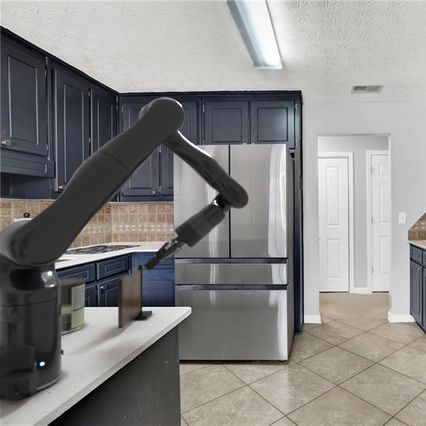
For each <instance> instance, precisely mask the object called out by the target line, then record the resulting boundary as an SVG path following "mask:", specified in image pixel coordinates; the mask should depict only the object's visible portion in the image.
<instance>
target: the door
mask: <svg viewBox="0 0 426 426" xmlns="http://www.w3.org/2000/svg"><path fill="white" fill-rule="evenodd" d="M117 283H118V284H117V285H118V287H117V289H118V293H117V294H118V298H117V299H118V303H117V306H118V307H117V313H118V314H117V329H123V328H124V327H125V326H127V325H128V324H129V323H130V322H132V321H134V320H133V319H134V318H135V317H136V316H137V315H139V314H140V301H141V270H138V269H137V270H135V271H133V272H131V273H129V274H127V275H125V276H123V277H121V278H119V279H118V282H117Z"/></svg>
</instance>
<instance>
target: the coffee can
mask: <svg viewBox="0 0 426 426" xmlns="http://www.w3.org/2000/svg"><path fill="white" fill-rule="evenodd" d="M58 279H59V281H60V282H61V285H62V303H61V335H66V334H70V333H73V332H76V331H78V330H80V329H82V328H84V327H85V325H86V323H85V306H86V305H85V301H86V299H85V298H86V296H85V293H86V278H84V277H61V278H58Z"/></svg>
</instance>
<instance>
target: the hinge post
mask: <svg viewBox="0 0 426 426" xmlns="http://www.w3.org/2000/svg"><path fill="white" fill-rule="evenodd" d="M137 267H138V268H137V270H141V301H140V314H139V315H137V316H136V317H135V318H134V319H133V320H132V321H145V320H148V319H149V318H150V317H151V316H152V315H153V310H143V281H144V280H143V278H144V277H143V267H144V264H138V266H137Z"/></svg>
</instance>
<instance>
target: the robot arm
mask: <svg viewBox="0 0 426 426" xmlns="http://www.w3.org/2000/svg"><path fill="white" fill-rule="evenodd" d="M185 119H186V115H185V110H184V108H183V106H182V104H180V103H179V102H178V101H177V100H176V99H173V98H171V97H158V98H156V99H153V100H152V101H150V102H149V103H148V104H146V105H145V106H143V107H142V108H141V109H140V111H139V113H138V119H137V121H136V122H134V124H132V125H131V126H130V127H128V128H127V129H125V130H124V131H123V132H121V133H119V134H117V135H116V136H114V137H113V138H112V139H110V140H108V141H107V142H106V143H104V144H103V145H102V146H100V147H99V148H98V149H97V150H95V152H93V153H92V154H91V155H90V156H89V157H88V158H86V159H85V160H84V161H83V162H82V163H81V164H80V165H79V166H78V167H77V169H76V170H75V172H74V173H73V174H72V176H71V177H70V179H69V181H68V183H67V185H66V186H65V188H64V189H63V191H62V192H61V194H60V195H59V196H58V197H57V198H56V199H55V200H54V201H53V202H51V203H50V204H49V205H48V206H47V207H46V208H44V209H43V210H42V211H40V212H39V213H38V214H37V215H35V216H34V217H32V218H31V219H22V220H18V221H14V222H11V223H9V224H7V225H6V226H4V227H2V228H1V230H0V399H2V398H3V399H4V398H7V399H8V400H9V401H20V400H21V399H22V398H23V397H27V396H28V397H29V396H33V395H34V394H35V393H37V392H39V391H41V390H44V389H46V388H48V387H50V386H52V385H53V384H56V383H57V382H58V381H59V380H60V379H61V378H62V377H63V370H62V356H64V353H65V352H64V350H63V349H62V334H61V303H62V285H61V282H60V281H59V279H60V278H59V277H58V275H57V270H56V262H57V261H58V260H59V259H60V258H61V257H63V256H64V254H66V252H67V251H68V250H69V248H70V247H71V246H72V244H73V243H74V242H75V240H76V239H77V238H78V236H79V235H80V234H81V232H82V231H83V230H84V228H86V226H87V225H88V223H89V222H90V221H91V220H92V219H93V218H94V217H95V216H96V215H97V214H98V213H99V212H100V211H101V210H103V208H104V207H106V205H108V203H109V202H110V201H111V200H112V199H113V198H114V197H115V196H116V195H117V194H118V193H119V192H120V191H121V190H122V189H123V188H124V187H125V186H126V185H127V184H128V183H129V182H130V181H131V179H133V178H134V176H136V174H137V172H139V171H140V169H141V168H143V166H144V165H145V164H146V162H147V161H148V160H149V159H150V157H151V156H152V155H153V153H154V152H155V151H156V150H157V149H158V148H159V147H160V146H161V145H162V146H164V147H165V148H167V149H168V150H169V151H170V152H172V153H173V154H174V155H176V157H178V158H179V159H180V160H182V162H184V163H185V164H187V165H188V167H190V168H191V169H192V170H193V171H194V172H195V173H196V174H197V175H198V176H199V177H200V178H201V179H202V180H203V181H204V182H205V183H206V184H207V185H208V186H209V187H210V188H211V189H213V190H214V191H216V192H217V195H216V196H215V197H214V198H213V199H212V200H211V201H210V202H209V203H208V204H207V205H206V206H204V207H203V208H201V210H199V211H198V212H196V213H195V214H193V215H192V216H190V217H189V218H188V219H186V220H185V221H184V222H182V223H181V224H180V225H179V226H177V227H176V228H175V229H174V232H175V234H176V235H177V236H176V237H174V238H170V239H169V240H167V241H166V242H165V243H164V244H163V245H161V246H160V248H159V249H158V250H157V251H156V252H155V253H154V256H153V257H151V258H150V259H149V260H148V261H147V262H145V264H143V267H144V268H145V269H146V270H147V271H152V270H153V269H154V268H155V267H156V266H158V265H159V264H160V263H163V262H165V261H167V260H169V258H171V257H173V256H174V255H175V254H177V253H179V252H180V251H181V250H182V247H183V246H184V245H185V244H186V245H187V246H188V247H189V248H193V247H194V246H196V245H197V244H198V243H200V242H201V241H202V240H203V239H204V238H205V237H206V236H208V235H209V234H210V233H211V232H212V231H213V230H214V229H215V228H217V226H219V224H221V223H223V221H224V220H225V219H226V217H227V213H228V212H229V211H230V210H231V209H232V208H233V209H237V210H241V209H243V208H246V206H247V205H248V204H249V200H250V198H249V194H248V191H247V190H246V189H245V188H244V187H243V186H242V185H241V184H240V183H239V182H238V181H236V179H234V178H233V177H232V176H231V175H229V173H228V172H227V171H226V169H224V167H223V166H222V165H221V164H220V163H219V161H217V160H216V158H214V157H213V156H212V155H210V154H209V153H207V151H204V150H203V149H201V148H199V147H198V146H196V144H194V143H192V142H191V141H189V140H188V139H187V138H186V137H185V136H184V135H183V134H182V133H181V132H180V130H181V128H182V127H183V126H184V123H185Z"/></svg>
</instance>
